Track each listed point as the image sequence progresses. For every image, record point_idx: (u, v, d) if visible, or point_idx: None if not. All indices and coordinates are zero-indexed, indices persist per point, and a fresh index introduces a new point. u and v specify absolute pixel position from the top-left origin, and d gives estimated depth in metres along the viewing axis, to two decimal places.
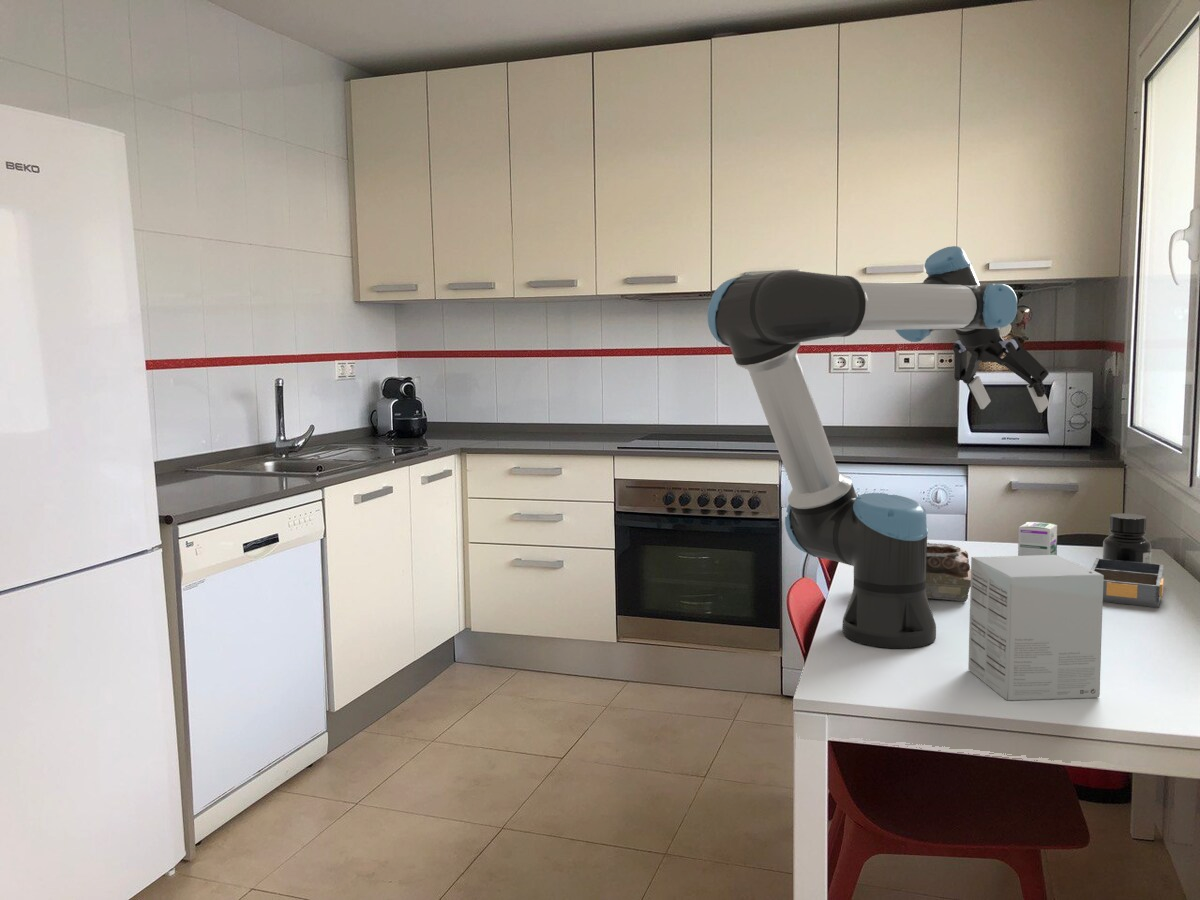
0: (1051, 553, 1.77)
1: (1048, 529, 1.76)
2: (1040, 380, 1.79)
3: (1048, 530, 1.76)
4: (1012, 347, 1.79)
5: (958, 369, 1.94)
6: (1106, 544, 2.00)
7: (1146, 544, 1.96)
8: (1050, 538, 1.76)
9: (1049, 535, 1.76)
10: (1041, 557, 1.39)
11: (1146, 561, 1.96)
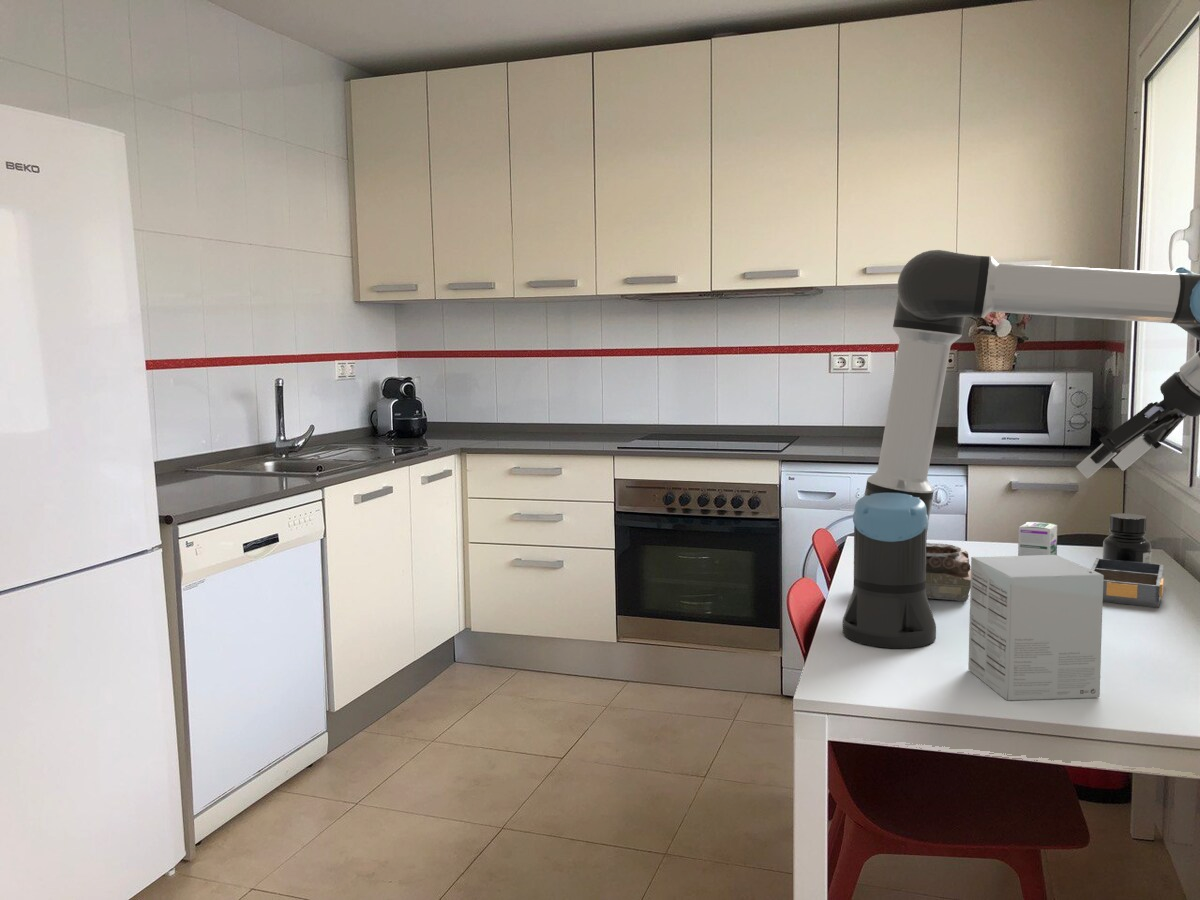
0: (1051, 553, 1.77)
1: (1048, 529, 1.76)
2: (1102, 438, 1.59)
3: (1048, 530, 1.76)
4: (1146, 408, 1.56)
5: None
6: (1106, 544, 2.00)
7: (1146, 544, 1.96)
8: (1050, 538, 1.76)
9: (1049, 535, 1.76)
10: (1041, 557, 1.39)
11: (1146, 561, 1.96)
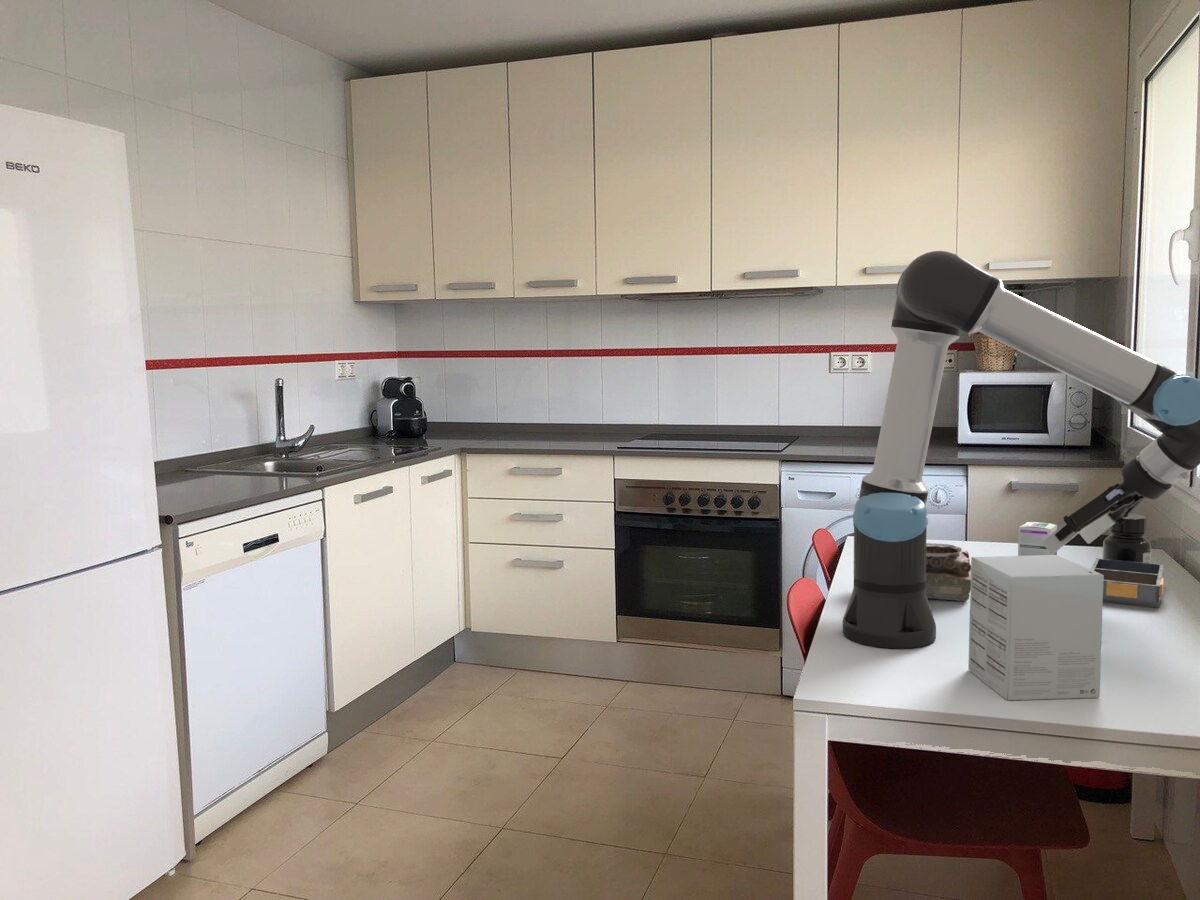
0: None
1: (1048, 529, 1.76)
2: (1065, 518, 1.66)
3: (1048, 530, 1.76)
4: (1107, 491, 1.63)
5: None
6: (1106, 544, 2.00)
7: (1146, 544, 1.96)
8: None
9: (1049, 535, 1.76)
10: (1041, 557, 1.39)
11: (1146, 561, 1.96)
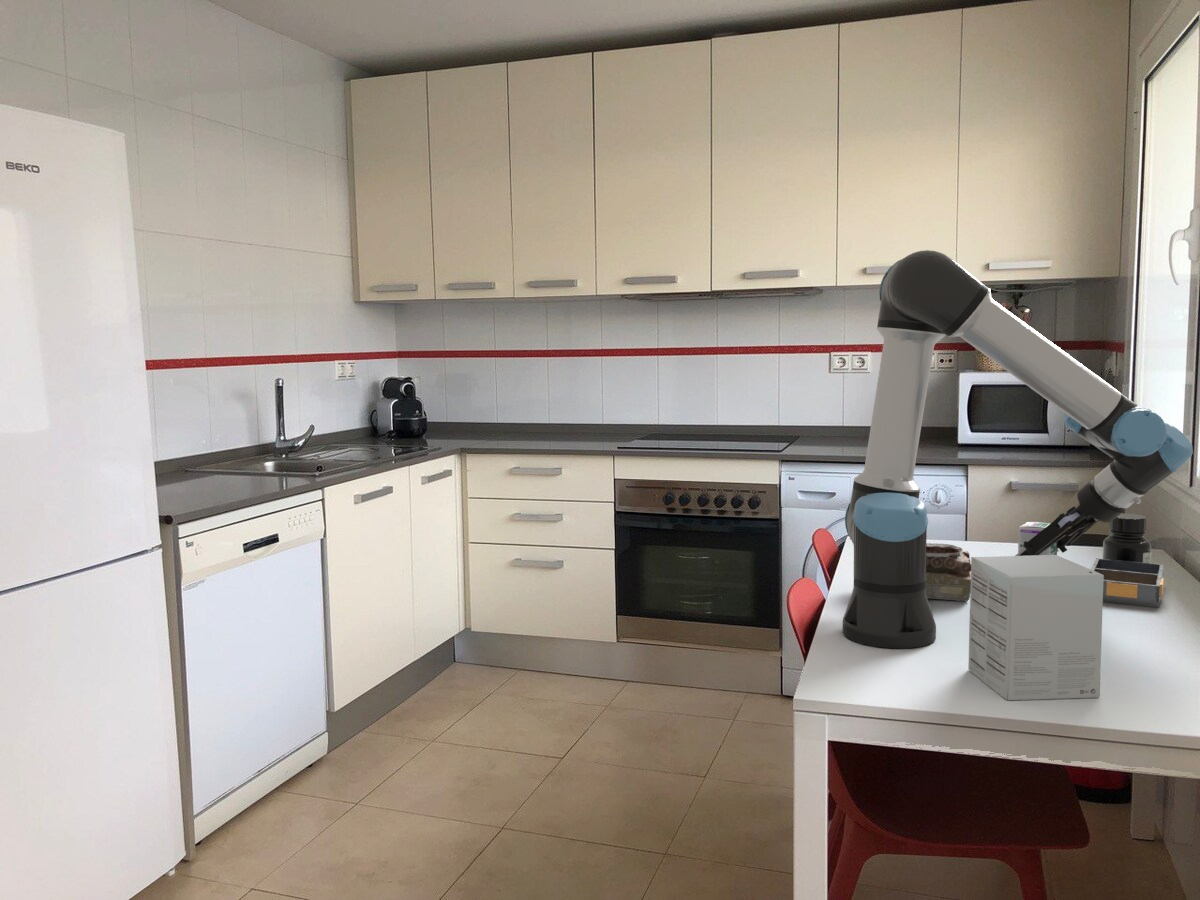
0: (1051, 553, 1.77)
1: None
2: None
3: None
4: (1058, 518, 1.69)
5: None
6: (1106, 544, 2.00)
7: (1146, 544, 1.96)
8: None
9: None
10: (1041, 557, 1.39)
11: (1146, 561, 1.96)
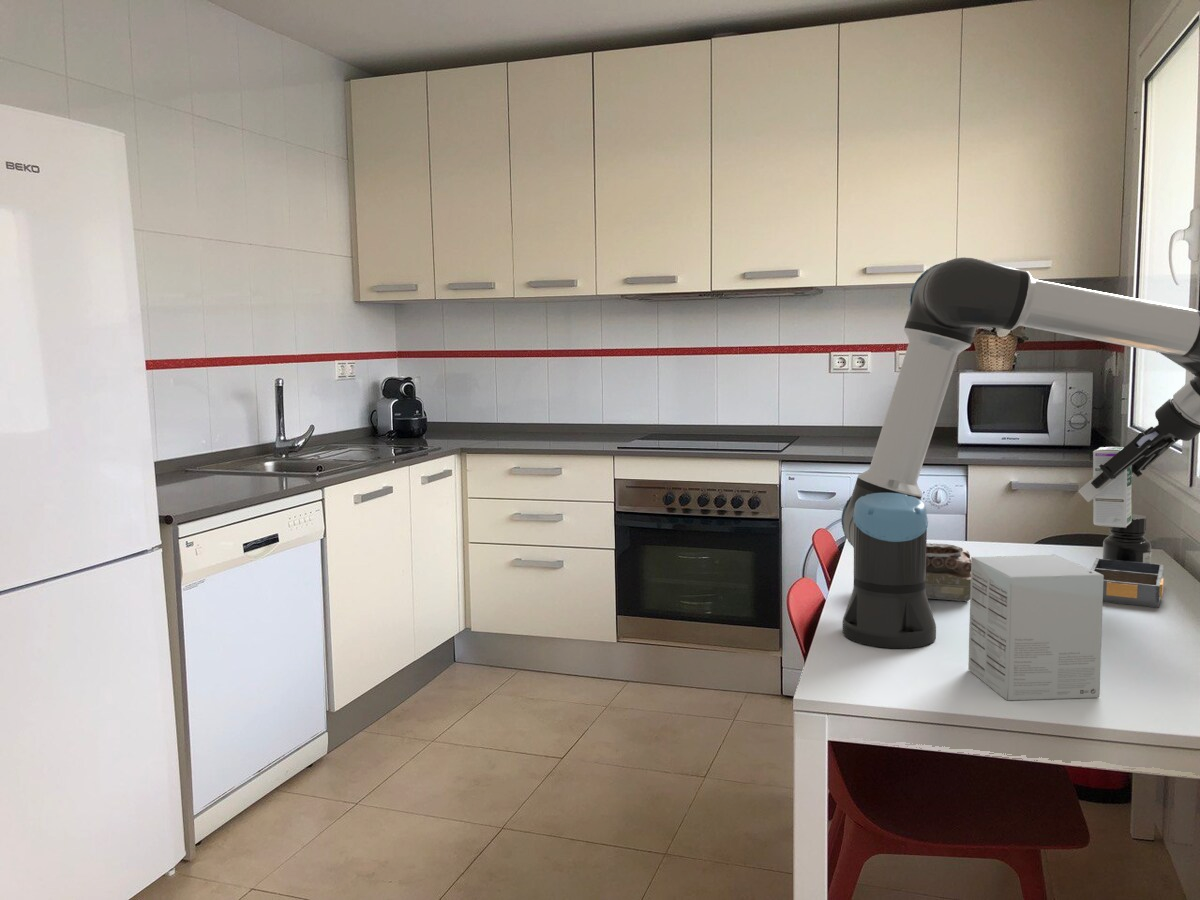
0: (1127, 476, 1.75)
1: None
2: (1101, 466, 1.73)
3: None
4: (1137, 437, 1.68)
5: None
6: (1106, 544, 2.00)
7: (1146, 544, 1.96)
8: None
9: None
10: (1041, 557, 1.39)
11: (1146, 561, 1.96)
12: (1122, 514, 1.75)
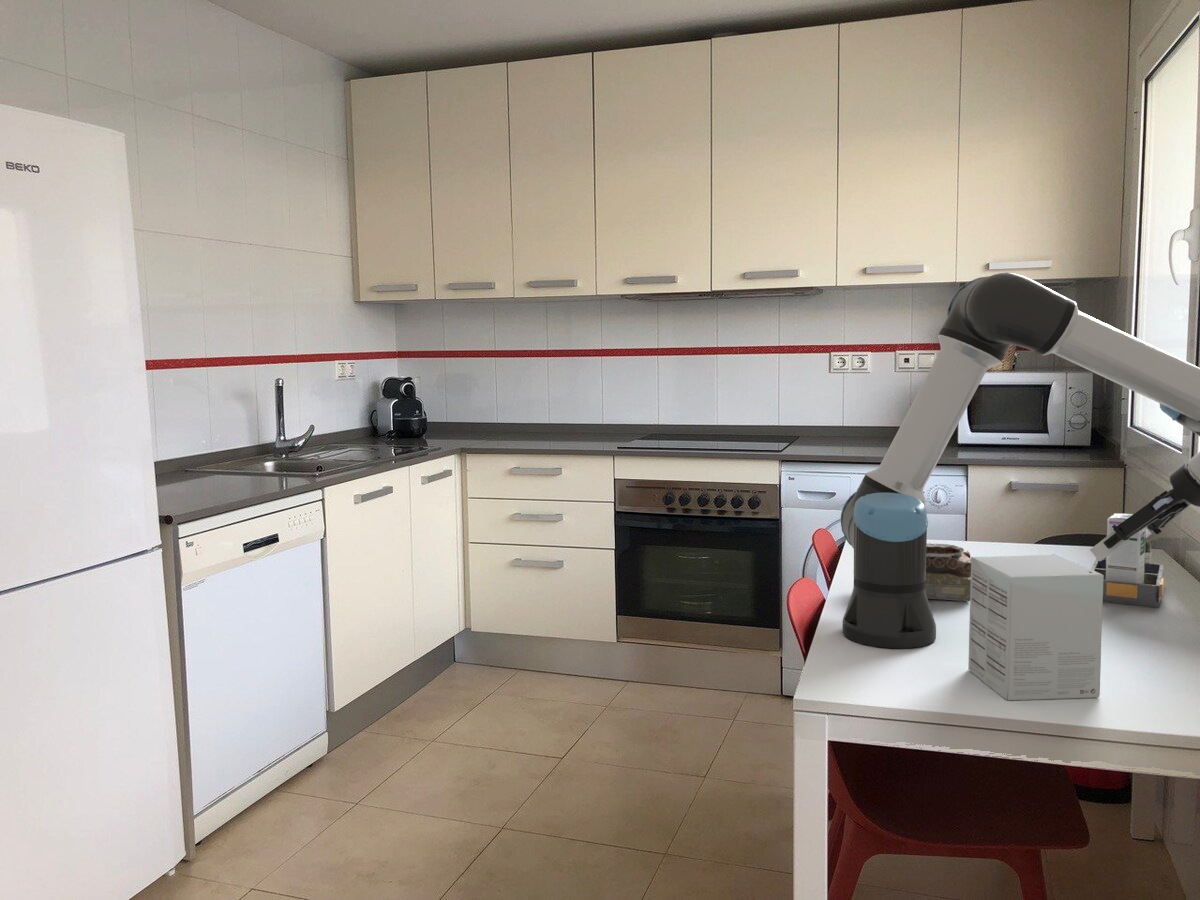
0: (1141, 545, 1.77)
1: None
2: (1114, 527, 1.73)
3: None
4: (1154, 500, 1.69)
5: None
6: None
7: (1146, 544, 1.96)
8: (1140, 530, 1.76)
9: None
10: (1041, 557, 1.39)
11: (1146, 561, 1.96)
12: None
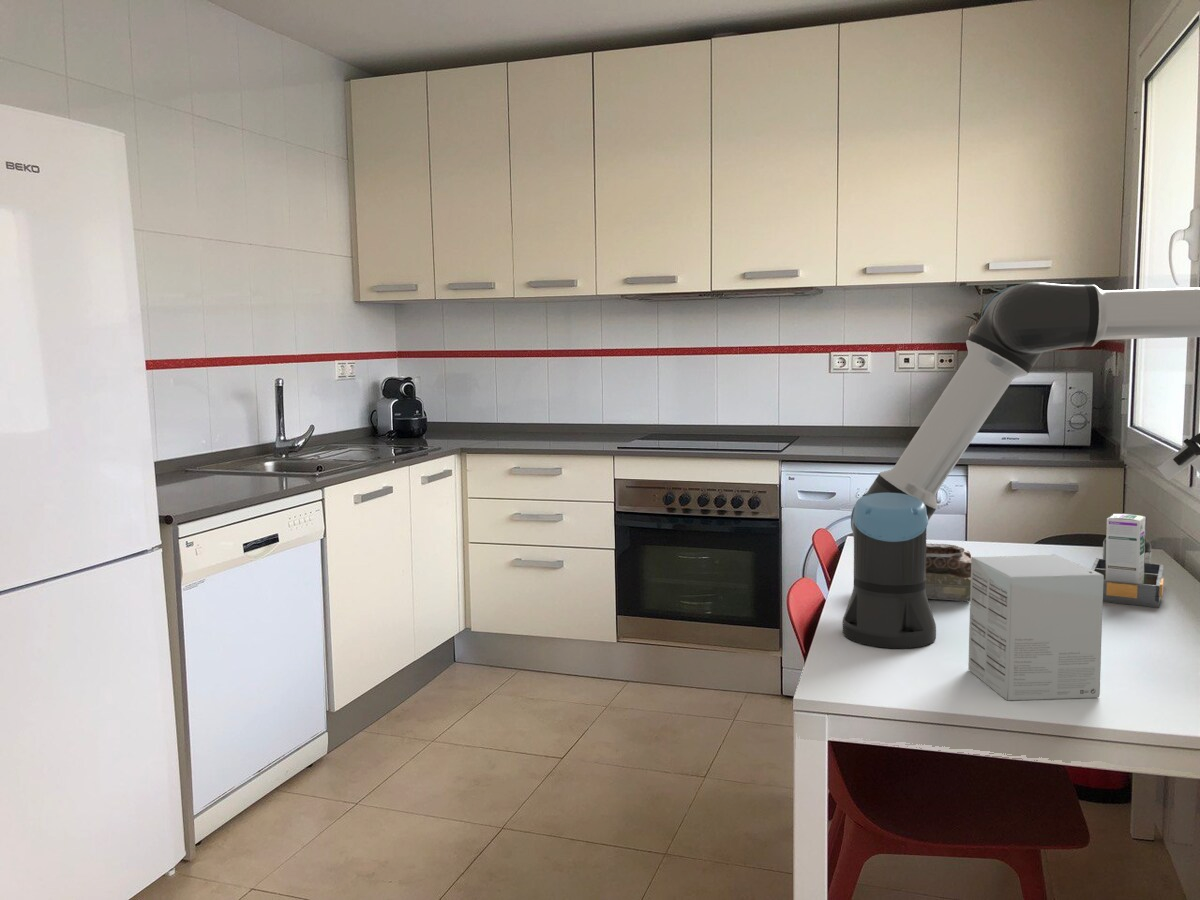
0: (1140, 545, 1.77)
1: (1138, 521, 1.76)
2: (1187, 441, 1.61)
3: (1138, 522, 1.76)
4: None
5: None
6: None
7: (1146, 544, 1.96)
8: (1140, 530, 1.76)
9: (1139, 527, 1.76)
10: (1041, 557, 1.39)
11: (1146, 561, 1.96)
12: None
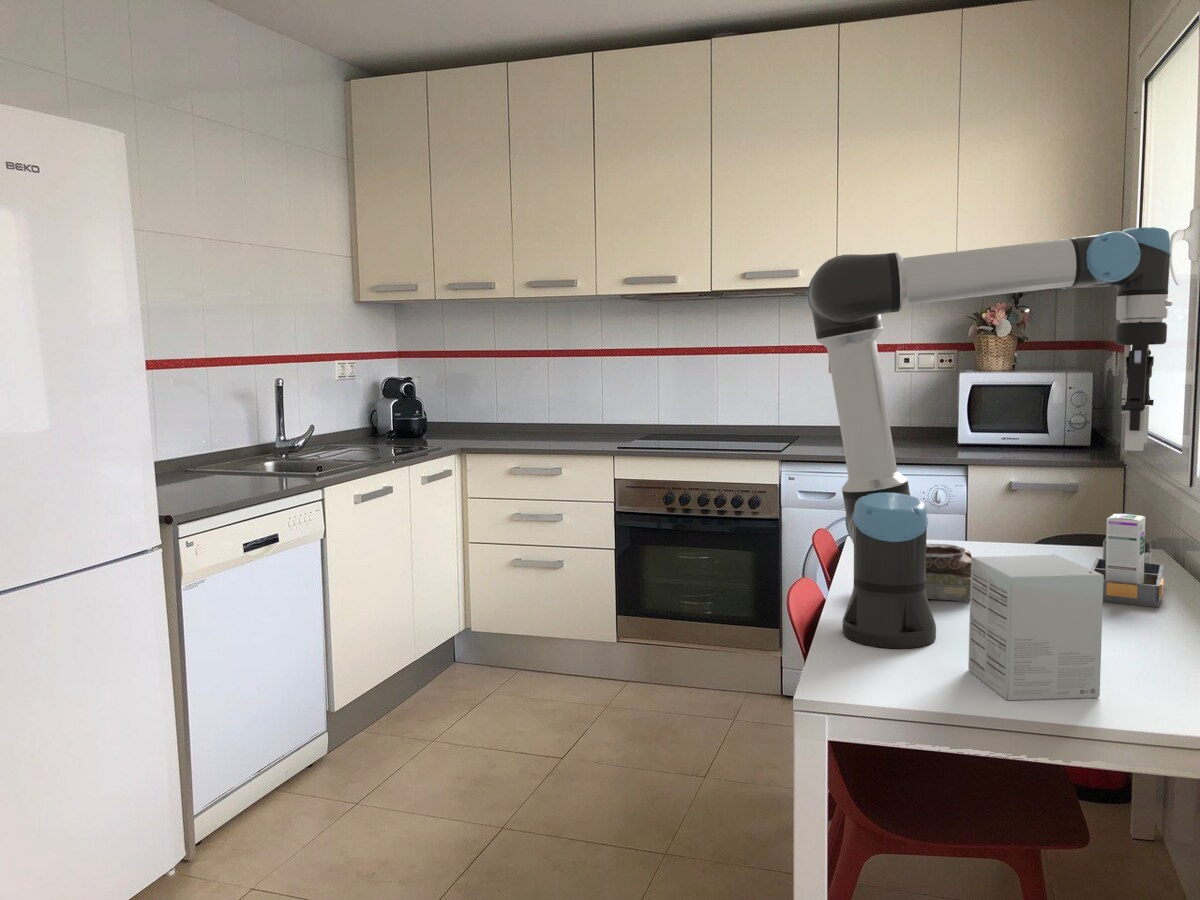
0: (1140, 545, 1.77)
1: (1138, 521, 1.76)
2: (1126, 403, 1.54)
3: (1138, 522, 1.76)
4: (1131, 356, 1.55)
5: None
6: None
7: (1146, 544, 1.96)
8: (1140, 530, 1.76)
9: (1139, 527, 1.76)
10: (1041, 557, 1.39)
11: (1146, 561, 1.96)
12: None
